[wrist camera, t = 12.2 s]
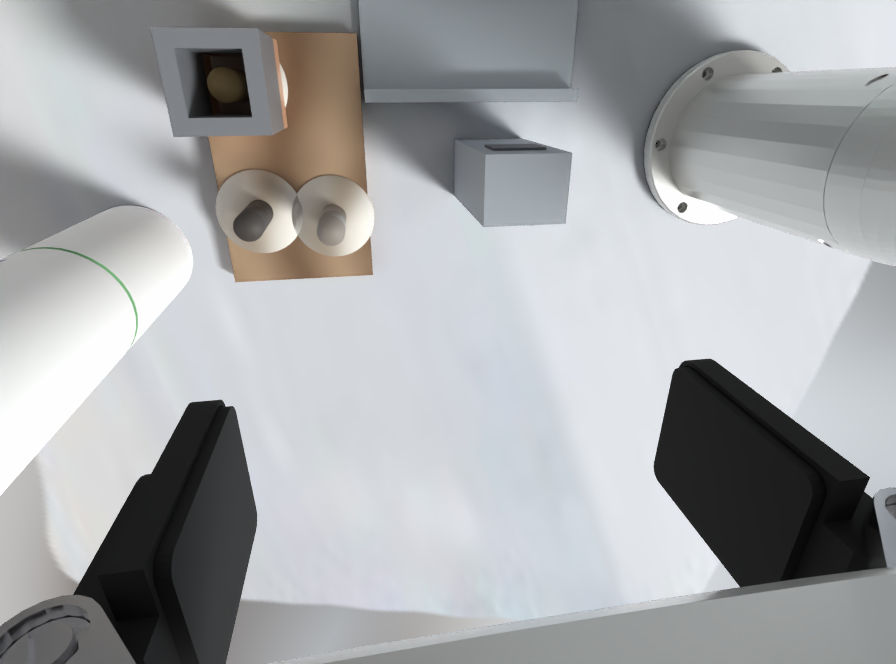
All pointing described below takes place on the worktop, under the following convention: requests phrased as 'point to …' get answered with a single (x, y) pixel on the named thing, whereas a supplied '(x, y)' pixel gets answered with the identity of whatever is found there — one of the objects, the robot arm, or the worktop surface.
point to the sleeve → (187, 74)
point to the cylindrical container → (78, 317)
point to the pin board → (296, 166)
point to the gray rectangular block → (512, 181)
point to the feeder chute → (468, 50)
